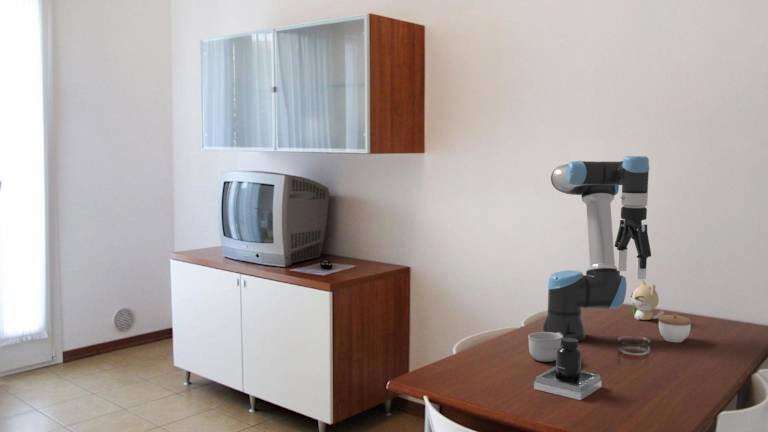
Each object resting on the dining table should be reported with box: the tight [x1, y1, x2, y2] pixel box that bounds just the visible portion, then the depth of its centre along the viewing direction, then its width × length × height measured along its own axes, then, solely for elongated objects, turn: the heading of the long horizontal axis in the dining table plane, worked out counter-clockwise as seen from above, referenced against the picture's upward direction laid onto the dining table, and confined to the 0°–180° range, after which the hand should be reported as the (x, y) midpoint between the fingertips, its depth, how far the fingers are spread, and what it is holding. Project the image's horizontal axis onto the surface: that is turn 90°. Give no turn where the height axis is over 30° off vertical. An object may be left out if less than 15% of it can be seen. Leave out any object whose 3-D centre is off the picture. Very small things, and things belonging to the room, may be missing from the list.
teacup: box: [527, 331, 564, 363], centre depth 234 cm, size 14×11×8 cm
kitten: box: [630, 279, 665, 321], centre depth 286 cm, size 15×10×15 cm
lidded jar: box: [658, 313, 692, 343], centre depth 257 cm, size 11×11×9 cm
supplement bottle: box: [555, 338, 582, 384], centre depth 206 cm, size 7×7×12 cm
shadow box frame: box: [533, 365, 603, 401], centre depth 207 cm, size 14×14×4 cm
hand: (631, 274), depth 225 cm, fingers open, 13 cm apart
